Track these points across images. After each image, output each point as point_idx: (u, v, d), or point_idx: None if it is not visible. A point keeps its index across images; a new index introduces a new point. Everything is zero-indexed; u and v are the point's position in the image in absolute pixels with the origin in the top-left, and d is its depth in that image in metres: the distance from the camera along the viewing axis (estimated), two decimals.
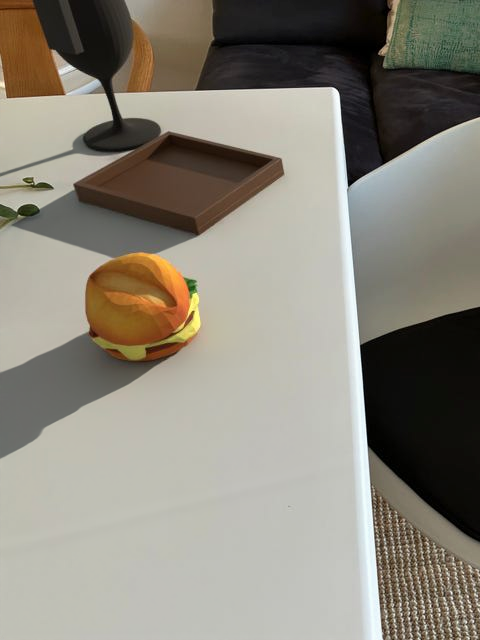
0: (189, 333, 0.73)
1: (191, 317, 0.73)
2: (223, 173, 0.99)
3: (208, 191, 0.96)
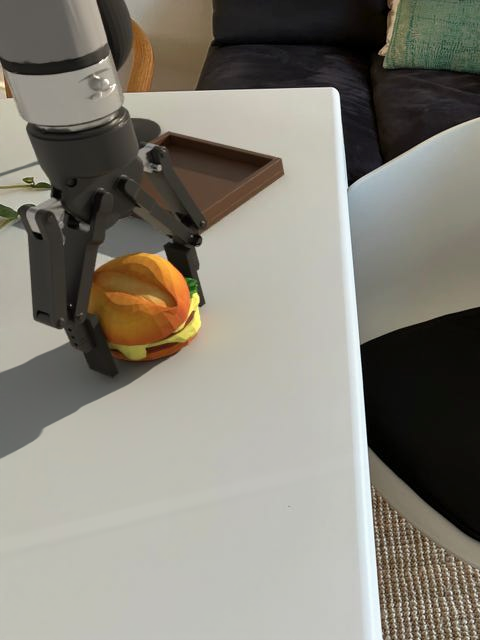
0: (189, 333, 0.73)
1: (191, 317, 0.73)
2: (223, 173, 0.99)
3: (208, 191, 0.96)
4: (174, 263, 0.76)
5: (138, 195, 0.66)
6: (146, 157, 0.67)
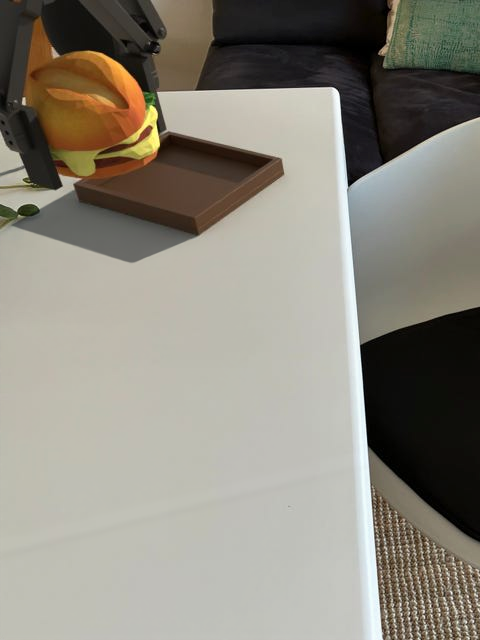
0: (145, 149, 0.65)
1: (148, 132, 0.65)
2: (223, 173, 0.99)
3: (208, 191, 0.96)
4: None
5: None
6: None
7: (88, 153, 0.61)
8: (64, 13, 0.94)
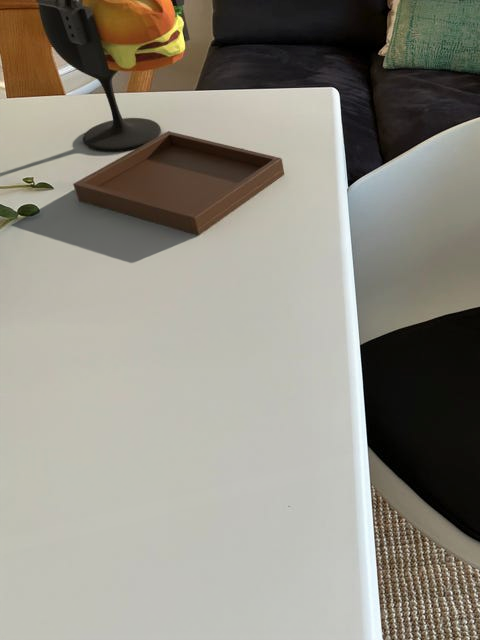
0: (174, 48, 0.82)
1: (176, 35, 0.82)
2: (223, 173, 0.99)
3: (208, 191, 0.96)
4: None
5: None
6: None
7: (131, 47, 0.79)
8: None
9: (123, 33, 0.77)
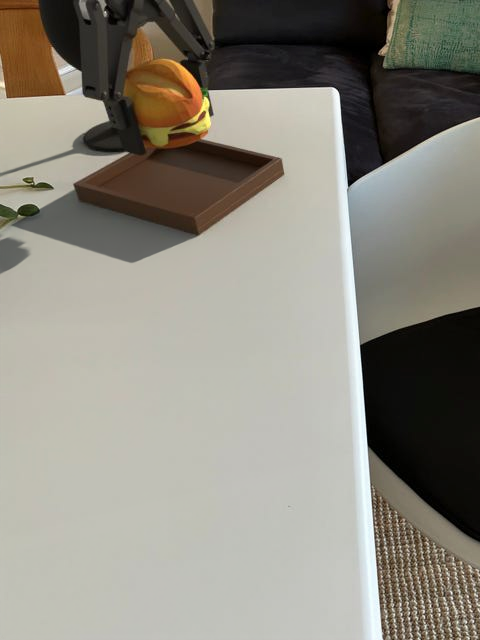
0: (202, 127, 0.92)
1: (203, 115, 0.92)
2: (223, 173, 0.99)
3: (208, 191, 0.96)
4: None
5: (162, 4, 0.85)
6: None
7: (164, 129, 0.89)
8: (64, 13, 0.94)
9: (158, 118, 0.87)
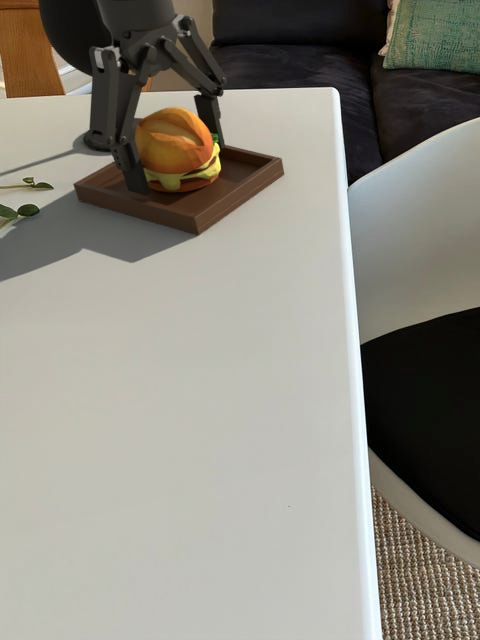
0: (212, 172, 0.95)
1: (214, 160, 0.96)
2: (223, 173, 0.99)
3: (208, 191, 0.96)
4: (201, 111, 0.98)
5: (174, 52, 0.88)
6: (178, 25, 0.90)
7: (177, 175, 0.92)
8: (64, 13, 0.94)
9: (171, 165, 0.90)
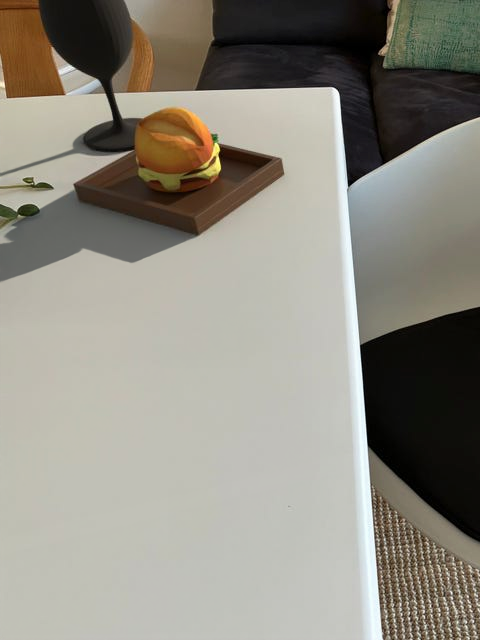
0: (212, 172, 0.95)
1: (214, 160, 0.96)
2: (223, 173, 0.99)
3: (208, 191, 0.96)
4: None
5: None
6: None
7: (177, 175, 0.92)
8: (64, 13, 0.94)
9: (171, 165, 0.90)
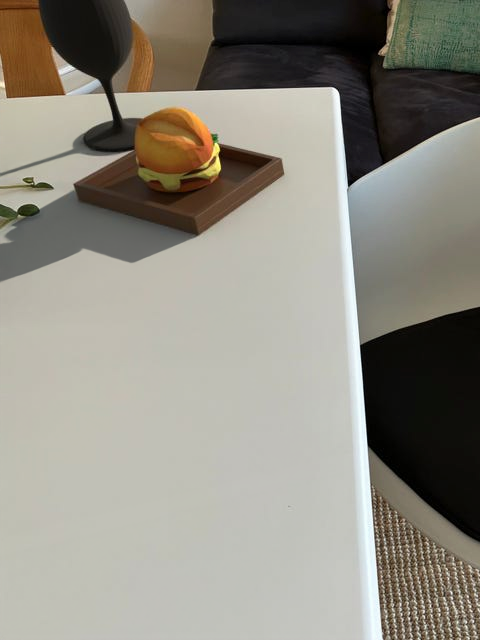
0: (212, 172, 0.95)
1: (214, 160, 0.96)
2: (223, 173, 0.99)
3: (208, 191, 0.96)
4: None
5: None
6: None
7: (177, 175, 0.92)
8: (64, 13, 0.94)
9: (171, 165, 0.90)
